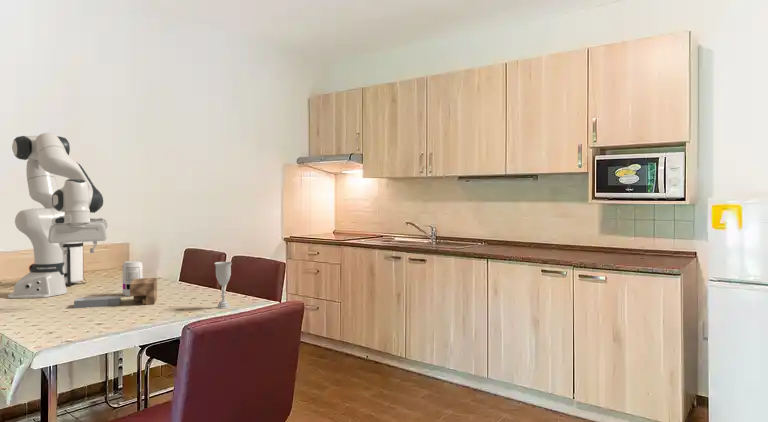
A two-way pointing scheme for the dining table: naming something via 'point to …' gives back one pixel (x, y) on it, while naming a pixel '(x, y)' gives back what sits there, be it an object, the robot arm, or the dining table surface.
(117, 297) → the board
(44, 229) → the robot arm
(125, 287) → the supplement can
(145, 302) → the shelf block
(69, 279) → the coffee press
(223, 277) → the chalice
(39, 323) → the dining table surface
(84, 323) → the dining table surface
